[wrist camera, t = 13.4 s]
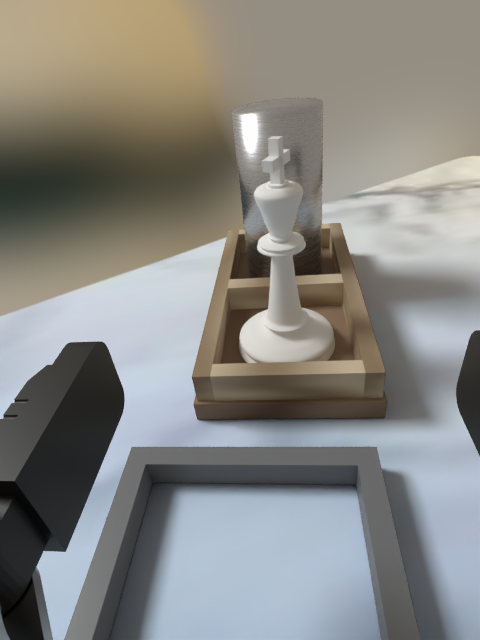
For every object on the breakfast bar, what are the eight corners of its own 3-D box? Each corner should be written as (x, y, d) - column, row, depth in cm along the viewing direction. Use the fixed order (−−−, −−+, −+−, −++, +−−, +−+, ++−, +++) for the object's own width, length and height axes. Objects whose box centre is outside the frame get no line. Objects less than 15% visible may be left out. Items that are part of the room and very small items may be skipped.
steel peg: (318, 253, 29) (319, 94, 23) (324, 288, 25) (327, 108, 19) (251, 257, 30) (235, 103, 24) (246, 292, 26) (227, 118, 20)
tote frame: (373, 466, 16) (376, 447, 15) (461, 878, 8) (475, 878, 8) (139, 465, 17) (131, 446, 17) (24, 824, 10) (1, 818, 9)
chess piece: (347, 326, 22) (358, 122, 16) (314, 387, 18) (314, 156, 13) (264, 309, 24) (248, 124, 18) (221, 361, 21) (185, 154, 15)
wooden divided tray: (340, 253, 31) (342, 221, 29) (384, 417, 18) (390, 375, 16) (230, 259, 32) (226, 229, 30) (197, 419, 19) (187, 380, 18)
